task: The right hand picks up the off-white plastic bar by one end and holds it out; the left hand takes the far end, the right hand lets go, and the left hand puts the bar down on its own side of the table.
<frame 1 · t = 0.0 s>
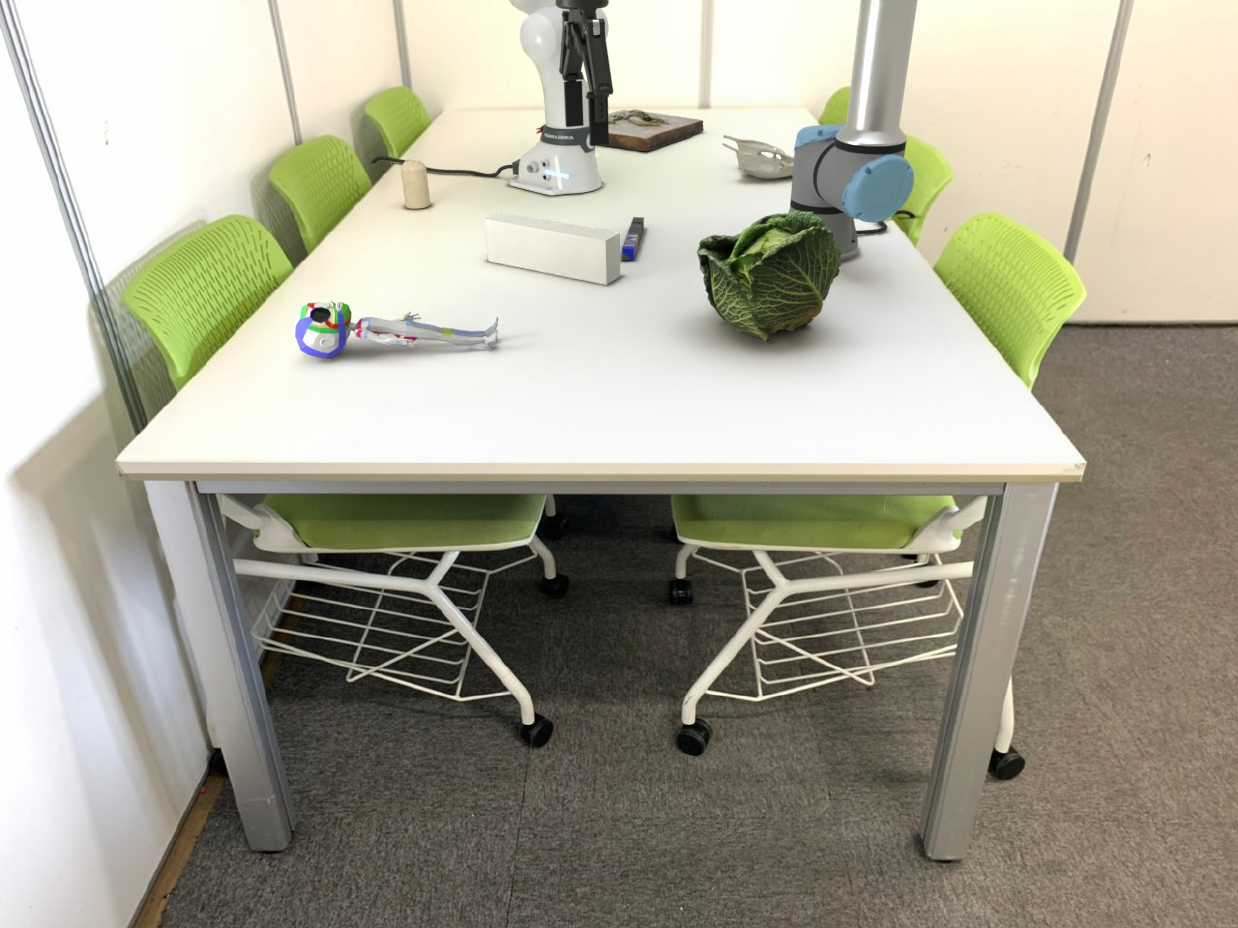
right hand: (586, 135, 136), 28 cm above the table, tool pointing down, fingers open, 13 cm apart
bar: (552, 268, 167), on the table
anatomical model: (772, 176, 220), on the table
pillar: (633, 244, 178), on the table
toy: (401, 349, 138), on the table
vegetable: (765, 329, 143), on the table
candle: (418, 206, 203), on the table
plaque: (633, 136, 259), on the table
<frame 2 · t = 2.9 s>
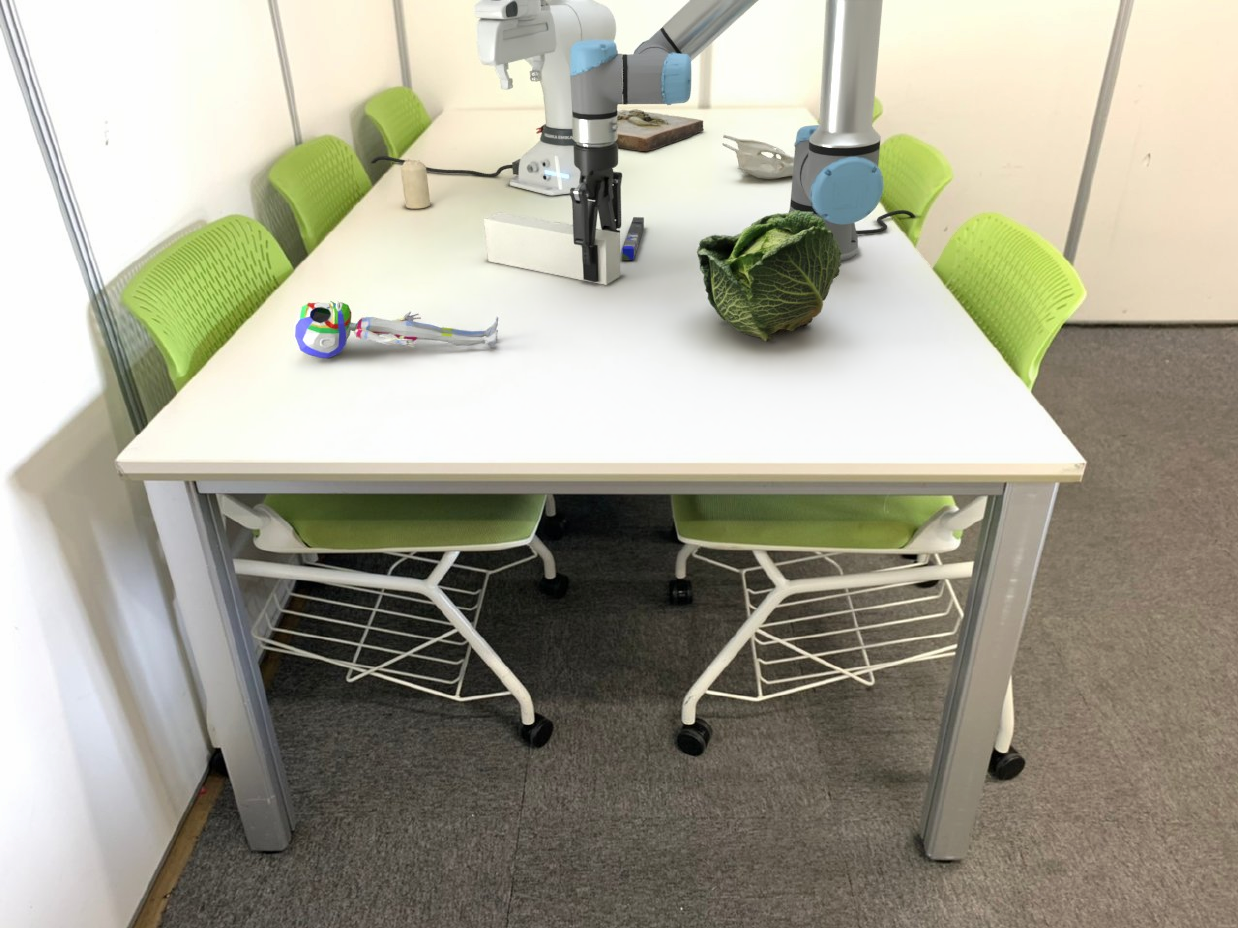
left hand: (521, 85, 170), 29 cm above the table, tool pointing down, fingers open, 8 cm apart
right hand: (599, 275, 162), 1 cm above the table, tool pointing down, fingers closed on bar, 5 cm apart
bar: (552, 268, 167), on the table, touching right hand
everything else where it was.
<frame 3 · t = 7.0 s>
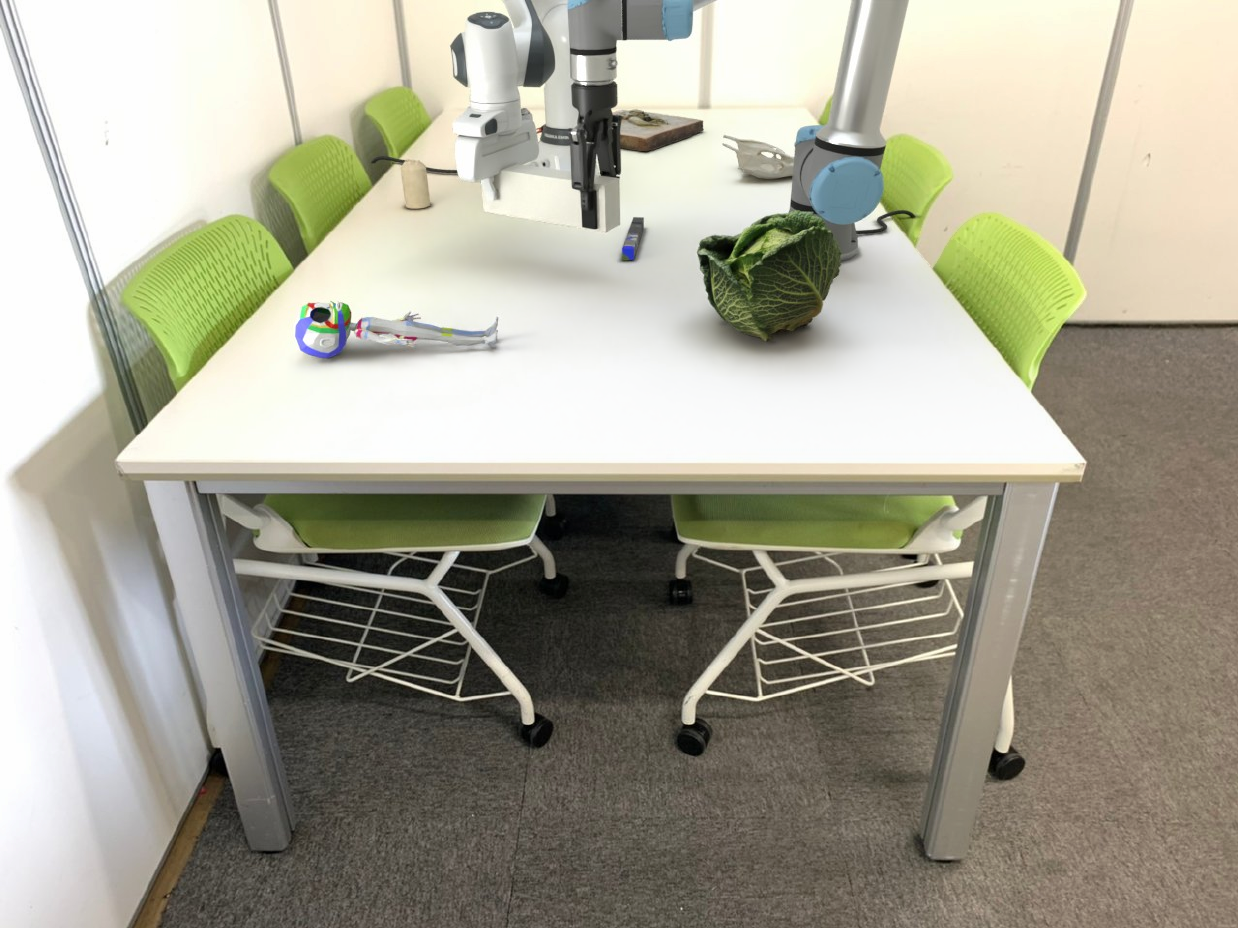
left hand: (503, 195, 165), 12 cm above the table, tool pointing down, fingers closed on bar, 5 cm apart
right hand: (598, 223, 157), 10 cm above the table, tool pointing down, fingers closed on bar, 5 cm apart
bar: (550, 218, 162), point 9 cm above the table, touching left hand, right hand
everything else where it was.
when the right hand's fingers open (10 cm above the table, at t = 7.8 s): bar stays where it is, held by the left hand.
when the left hand's fingers open (4 cm above the table, at t = 12.7 s): bar stays where it is, on the table.
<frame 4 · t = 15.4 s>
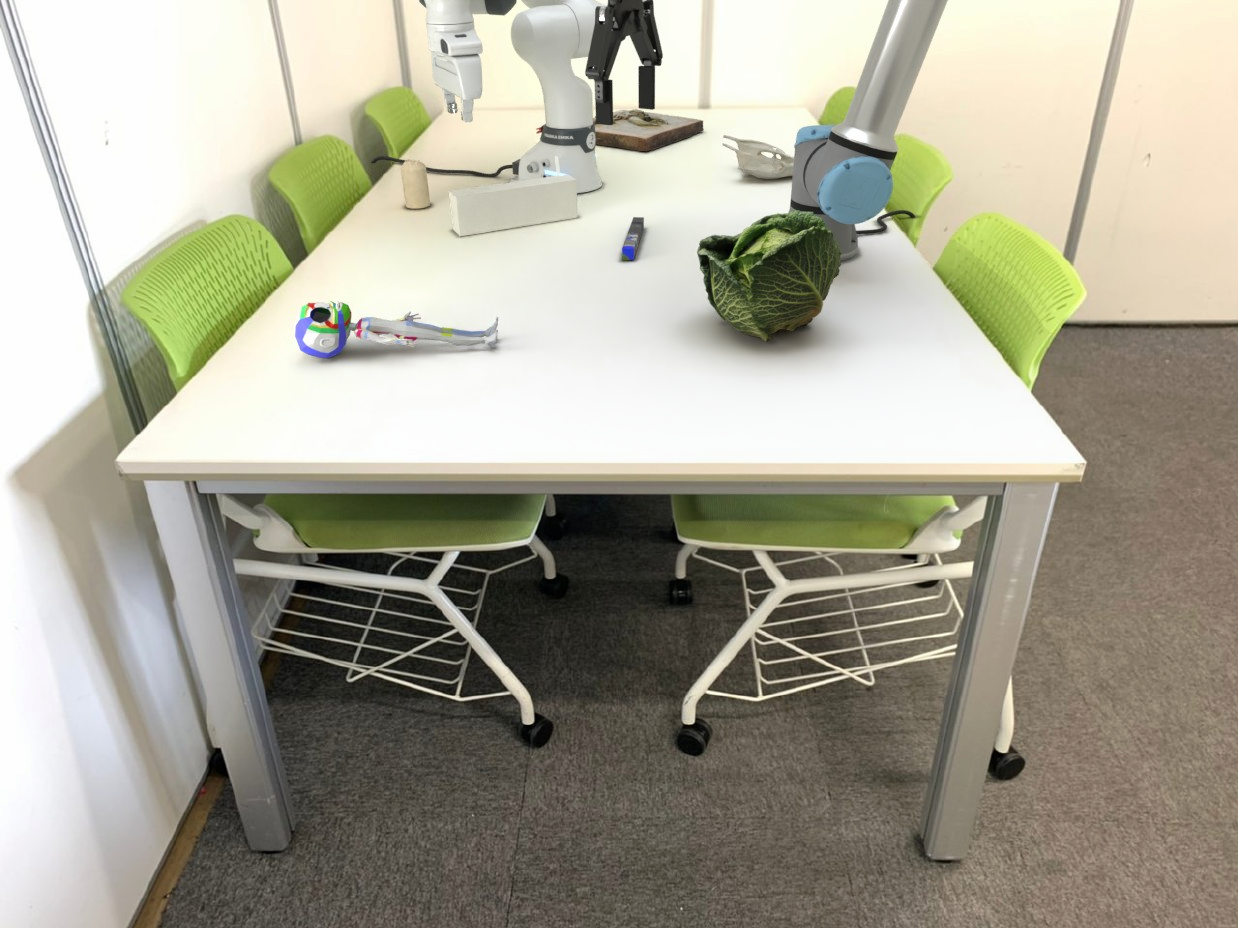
left hand: (459, 117, 175), 23 cm above the table, tool pointing down, fingers open, 8 cm apart
right hand: (626, 116, 145), 28 cm above the table, tool pointing down, fingers open, 13 cm apart
bar: (516, 223, 191), on the table
everything else where it was.
at the end: bar inside the target area (10.0 cm from its centre), on the table; the left hand is holding nothing; the right hand is holding nothing; bar at rest at the end (0.0 cm/s) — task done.
